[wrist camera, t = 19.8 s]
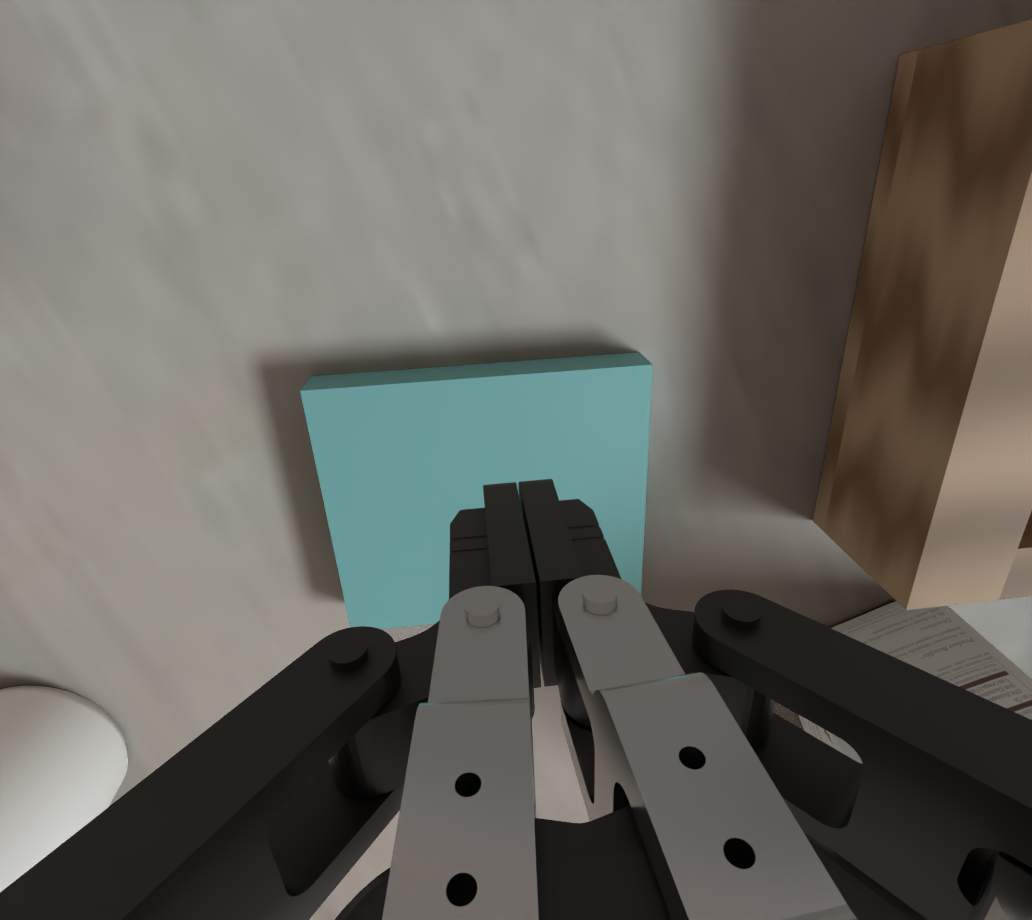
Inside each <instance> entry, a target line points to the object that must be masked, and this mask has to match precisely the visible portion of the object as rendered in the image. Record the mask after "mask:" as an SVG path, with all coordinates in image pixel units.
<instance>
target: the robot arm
mask: <svg viewBox="0 0 1032 920" xmlns="http://www.w3.org/2000/svg"><path fill="white" fill-rule="evenodd" d="M518 491H519V494H518ZM483 493H484V504H485V508H475V509H464V510H460V511H459V512H458V513H457V515H456V516H455V518H454V519H453V520H452V522H451V523H450V560H449V600H448V601H447V603H446V604H445V605H444V607H443V609H442V611H441V615H440V620H439V621H438V622H437V623H436V624H435V625H433V626H432V627H431V628H429V629H428V630H426V631H424V632H422V633H420V634H418V635H415V636H413V637H410V638H407V639H404V640H401V641H398V642H394V640H393V639H392V637H391V636H390V635H389V634H388V633H386V632H385V631H383V630H381V629H378V628H374V627H367V626H359V627H351V628H346V629H343V630H339V631H337V632H335V633H332V634H330V635H328V636H327V637H325V638H323V639H322V640H321V641H319V642H318V643H317V644H315V645H314V646H313V647H311V648H310V649H309V650H308V651H306V652H305V653H304V654H303V655H301V656H300V657H299V658H297V659H296V660H295V661H294V662H292V663H291V664H290V665H289V666H287V667H286V668H285V669H284V670H282V671H281V672H280V673H278V674H277V675H276V676H275V677H273V678H272V679H271V680H270V681H268V682H267V683H266V684H264V685H263V686H262V687H261V688H259V689H258V690H257V691H256V692H254V693H253V694H252V695H250V696H249V697H248V698H247V699H245V700H244V701H243V702H242V703H240V704H239V705H238V706H236V707H235V708H234V709H233V710H231V711H230V712H229V713H228V714H226V715H225V716H224V717H223V718H221V719H220V720H219V721H217V722H216V723H215V724H214V725H212V726H211V727H210V728H209V729H207V730H206V731H205V732H203V733H202V734H201V735H200V736H198V737H197V738H196V739H195V740H193V741H192V742H191V743H189V744H188V745H187V746H186V747H184V748H183V749H182V750H181V751H179V752H178V753H177V754H175V755H174V756H173V757H172V758H170V759H169V760H168V761H167V762H165V763H164V764H163V765H162V766H160V767H159V768H158V769H156V770H155V771H154V772H153V773H151V774H150V775H149V776H148V777H146V778H145V779H144V780H142V781H141V782H140V783H139V784H137V785H136V786H135V787H134V788H132V789H131V790H130V791H128V792H127V793H126V794H125V795H123V796H122V797H121V798H120V799H118V800H117V801H116V802H114V803H113V804H112V805H111V806H109V807H108V808H107V809H106V810H104V811H103V812H102V813H101V814H99V815H98V816H97V817H95V818H94V819H93V820H92V821H90V822H89V823H88V824H87V825H85V826H84V827H83V828H81V829H80V830H79V831H78V832H76V833H75V834H74V835H73V836H71V837H70V838H69V839H67V840H66V841H65V842H64V843H62V844H61V845H60V846H59V847H57V848H56V849H55V850H54V851H52V852H51V853H50V854H48V855H47V856H46V857H45V858H43V859H42V860H41V861H40V862H38V863H37V864H36V865H34V866H33V867H32V868H31V869H29V870H28V871H27V872H26V873H24V874H23V875H22V876H20V877H19V878H18V879H17V880H15V881H14V882H13V883H12V884H10V885H9V886H8V887H6V888H5V889H4V890H3V891H1V892H0V920H309V919H310V918H311V917H312V915H313V914H314V913H315V912H316V910H317V909H318V908H319V907H320V906H321V904H322V903H323V902H324V901H325V900H326V898H327V897H328V896H329V895H330V894H331V892H332V891H333V890H334V889H335V888H336V886H337V885H338V884H339V883H340V881H341V880H342V879H343V878H344V877H345V875H346V874H347V873H348V872H349V871H350V869H351V868H352V867H353V866H354V865H355V863H356V862H357V861H358V860H359V859H360V857H361V856H362V855H363V854H364V853H365V851H366V850H367V849H368V848H369V846H370V845H371V844H372V843H373V842H374V840H375V839H376V838H377V837H378V836H379V834H380V833H381V832H382V831H383V830H384V828H385V827H386V826H387V825H388V824H389V822H390V821H391V820H392V819H393V817H394V816H395V815H396V814H397V813H398V811H399V810H400V813H399V819H398V825H397V831H396V838H395V844H394V850H393V856H392V862H391V867H390V868H389V869H387V870H386V871H384V872H383V873H382V874H380V875H379V876H377V877H376V878H375V879H374V880H373V881H371V882H370V883H369V884H368V885H367V886H366V887H365V888H363V889H362V890H361V891H360V892H359V893H358V894H357V895H356V896H355V897H354V898H353V899H352V901H351V902H350V903H349V904H348V905H347V906H346V907H345V908H344V909H343V910H342V911H341V913H340V914H339V915H338V916H337V918H336V919H335V920H1032V720H1031V719H1029V718H1026V717H1024V716H1022V715H1020V714H1018V713H1015V712H1013V711H1011V710H1009V709H1007V708H1004V707H1002V706H1000V705H998V704H996V703H993V702H991V701H989V700H987V699H985V698H983V697H980V696H978V695H976V694H974V693H972V692H969V691H967V690H965V689H963V688H961V687H958V686H956V685H954V684H952V683H950V682H947V681H945V680H943V679H941V678H939V677H936V676H934V675H932V674H930V673H928V672H926V671H923V670H921V669H919V668H917V667H915V666H912V665H910V664H908V663H906V662H904V661H901V660H899V659H897V658H895V657H893V656H890V655H888V654H886V653H884V652H882V651H879V650H877V649H875V648H873V647H871V646H869V645H866V644H864V643H862V642H860V641H858V640H855V639H853V638H851V637H849V636H847V635H844V634H842V633H840V632H838V631H836V630H833V629H831V628H829V627H827V626H825V625H823V624H820V623H818V622H816V621H814V620H812V619H809V618H807V617H805V616H803V615H801V614H798V613H796V612H794V611H792V610H790V609H787V608H785V607H783V606H781V605H779V604H776V603H774V602H772V601H770V600H768V599H766V598H763V597H761V596H758V595H756V594H753V593H749V592H745V591H740V590H720V591H715V592H712V593H709V594H707V595H705V596H704V597H702V598H701V599H700V600H699V601H698V603H697V605H696V607H695V613H694V612H686V611H678V610H670V609H664V608H660V607H656V606H653V605H650V604H647V603H645V602H644V600H643V599H642V597H641V595H640V593H639V592H638V591H637V589H636V588H635V587H633V586H632V585H631V584H629V583H628V582H626V581H624V580H622V579H621V576H620V574H619V572H618V569H617V567H616V564H615V562H614V559H613V557H612V554H611V552H610V550H609V547H608V545H607V542H606V540H605V539H604V535H603V533H602V530H601V528H600V527H599V523H598V520H597V518H596V516H595V513H594V511H593V510H592V509H591V508H590V507H589V506H587V505H586V504H585V503H583V502H582V501H581V500H580V499H571V500H560V501H559V498H558V495H557V492H556V489H555V486H554V483H553V480H552V479H543V480H532V481H521V482H519V483H518V489H517V484H516V482H511V483H500V484H488V485H483ZM540 663H541V669H542V674H543V680H544V686H553V685H558V688H559V692H560V697H561V721H562V726H563V730H564V733H565V737H566V740H567V744H568V747H569V751H570V754H571V758H572V761H573V764H574V768H575V771H576V775H577V778H578V782H579V785H580V789H581V792H582V796H583V799H584V803H585V806H586V810H587V813H588V817H589V821H590V822H586V823H580V824H579V823H569V822H561V821H554V820H546V819H538V818H536V799H535V779H534V758H533V738H532V718H533V715H534V710H535V707H534V688H537V687H541V678H540ZM775 701H776V702H777V703H779V704H781V705H783V706H784V707H786V708H788V709H790V710H791V711H793V712H795V713H797V714H798V715H800V716H802V717H804V718H805V719H807V720H809V721H811V722H812V723H814V724H816V725H818V726H820V727H821V728H823V729H825V730H827V731H828V732H830V733H832V734H834V735H835V736H837V737H839V738H840V739H842V740H844V741H845V742H846V743H848V744H849V745H850V746H851V747H852V748H853V749H854V750H855V751H856V753H857V754H858V755H859V757H860V759H861V761H862V763H863V764H861V763H859V762H857V761H855V760H853V759H852V758H850V757H848V756H846V755H845V754H843V753H841V752H840V751H838V750H836V749H834V748H833V747H831V746H829V745H828V744H826V743H824V742H822V741H821V740H819V739H817V738H816V737H814V736H812V735H810V734H809V733H807V732H805V731H804V730H802V729H800V728H798V727H797V726H795V725H793V724H792V723H790V722H788V721H786V720H785V719H783V718H781V717H780V716H778V715H776V714H774V713H773V711H774V706H775Z"/></svg>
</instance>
